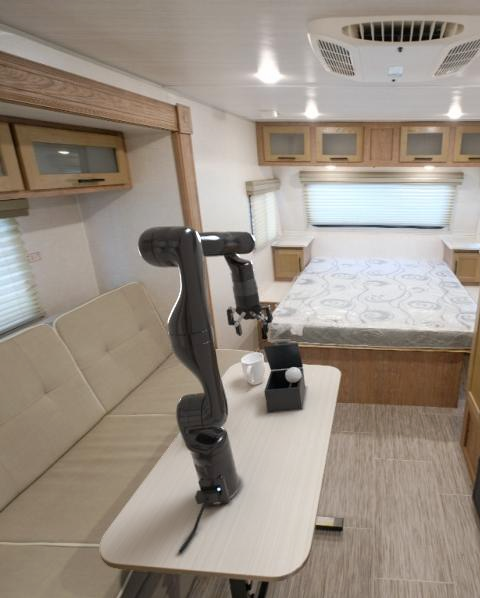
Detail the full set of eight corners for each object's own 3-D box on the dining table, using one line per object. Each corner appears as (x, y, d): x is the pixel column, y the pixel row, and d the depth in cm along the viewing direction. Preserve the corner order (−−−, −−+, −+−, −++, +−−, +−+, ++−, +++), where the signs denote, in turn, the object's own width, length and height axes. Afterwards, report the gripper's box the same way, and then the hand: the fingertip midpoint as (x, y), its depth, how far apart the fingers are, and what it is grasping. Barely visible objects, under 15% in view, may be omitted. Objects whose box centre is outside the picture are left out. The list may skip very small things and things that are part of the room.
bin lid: (297, 344, 130) (298, 334, 134) (263, 346, 128) (265, 336, 132) (302, 367, 139) (303, 358, 143) (270, 370, 137) (272, 360, 141)
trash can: (302, 409, 131) (299, 388, 127) (268, 412, 129) (264, 391, 125) (305, 387, 143) (303, 367, 140) (274, 390, 141) (271, 370, 138)
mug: (249, 376, 151) (244, 352, 146) (269, 374, 152) (265, 351, 147) (240, 392, 140) (235, 368, 135) (262, 391, 141) (258, 366, 136)
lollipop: (296, 398, 137) (305, 367, 133) (290, 407, 132) (300, 375, 127) (281, 393, 137) (290, 362, 133) (275, 401, 131) (284, 369, 127)
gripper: (219, 296, 110) (228, 340, 116) (265, 294, 112) (272, 337, 118) (226, 288, 117) (235, 330, 123) (270, 286, 119) (276, 328, 125)
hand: (253, 334), depth 120 cm, fingers open, 8 cm apart
